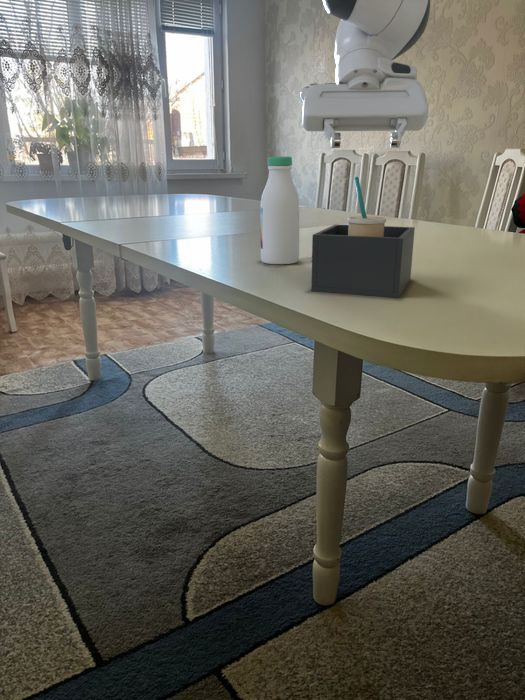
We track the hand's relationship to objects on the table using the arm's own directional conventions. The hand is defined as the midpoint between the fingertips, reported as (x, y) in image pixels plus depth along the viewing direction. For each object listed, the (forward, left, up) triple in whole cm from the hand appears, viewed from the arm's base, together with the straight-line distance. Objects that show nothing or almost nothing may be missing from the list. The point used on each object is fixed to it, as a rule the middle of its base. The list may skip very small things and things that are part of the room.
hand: (365, 145), depth 86 cm
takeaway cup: (-2, +4, -21) cm, 21 cm away
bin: (-2, +4, -22) cm, 22 cm away
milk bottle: (+18, -11, -22) cm, 31 cm away
